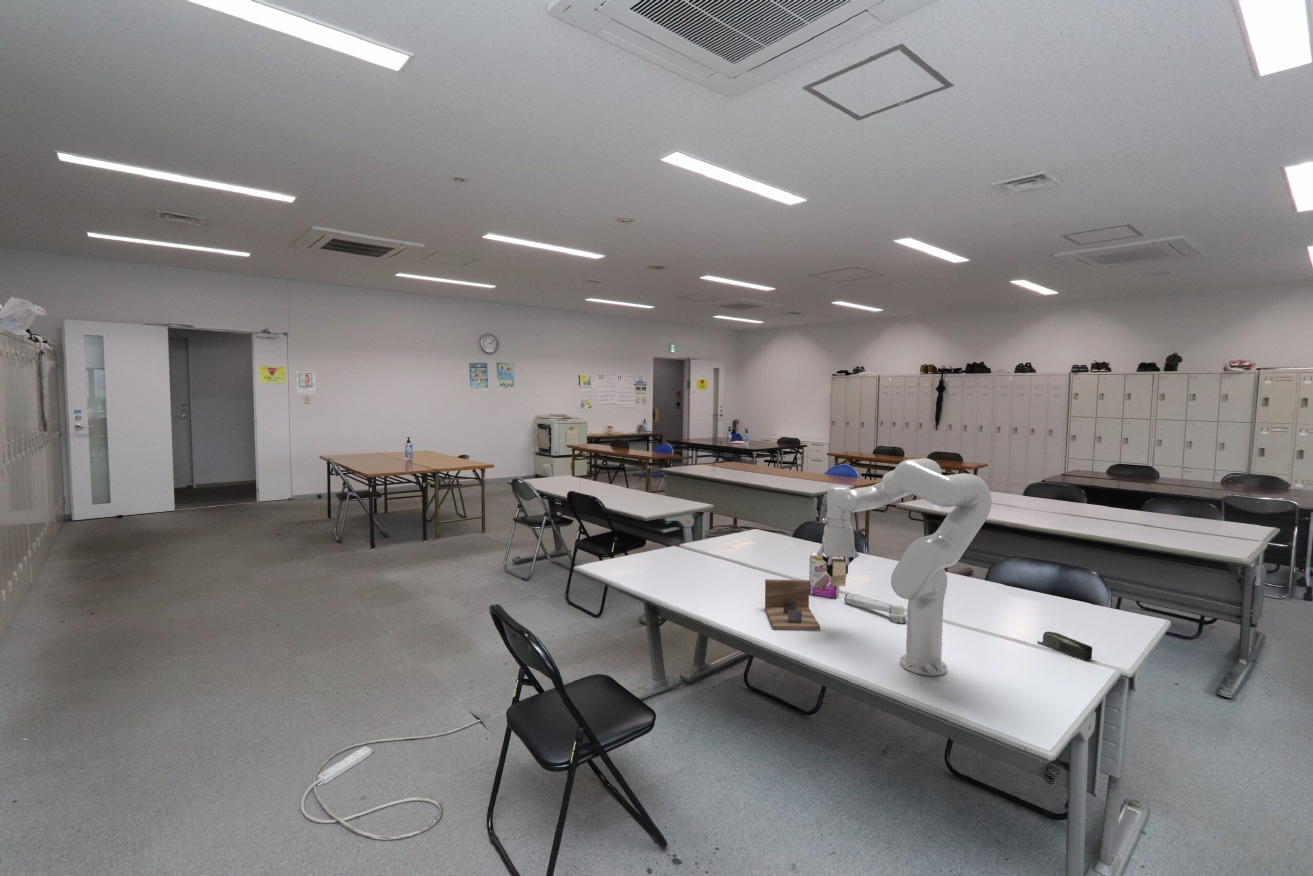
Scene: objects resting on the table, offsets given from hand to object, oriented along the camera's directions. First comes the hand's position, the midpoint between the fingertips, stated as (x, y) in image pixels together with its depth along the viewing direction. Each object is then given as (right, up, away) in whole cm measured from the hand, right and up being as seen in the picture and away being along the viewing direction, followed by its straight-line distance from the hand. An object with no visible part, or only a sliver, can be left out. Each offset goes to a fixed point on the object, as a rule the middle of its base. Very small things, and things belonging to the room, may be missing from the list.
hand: (837, 575), depth 198 cm
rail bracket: (0, -3, 0) cm, 3 cm away
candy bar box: (+6, -17, +37) cm, 41 cm away
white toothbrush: (+19, -19, +18) cm, 32 cm away
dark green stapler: (+66, -21, -16) cm, 71 cm away
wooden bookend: (-13, -19, +11) cm, 25 cm away
